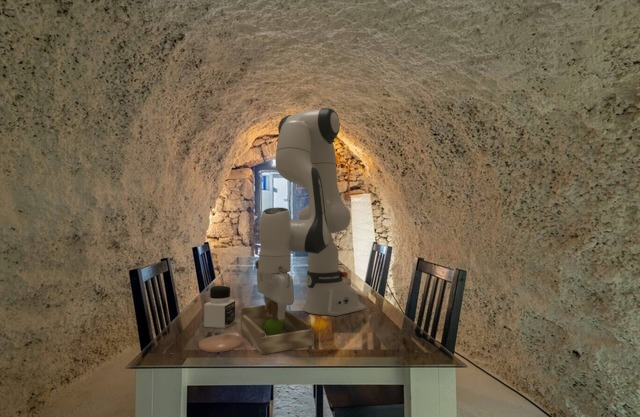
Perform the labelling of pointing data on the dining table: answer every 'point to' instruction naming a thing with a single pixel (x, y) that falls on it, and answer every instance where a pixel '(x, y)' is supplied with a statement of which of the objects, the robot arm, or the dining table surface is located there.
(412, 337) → the dining table surface
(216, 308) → the medicine bottle
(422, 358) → the dining table surface
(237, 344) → the tan disc
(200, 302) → the dining table surface
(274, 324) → the snail figurine
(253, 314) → the cold frame
